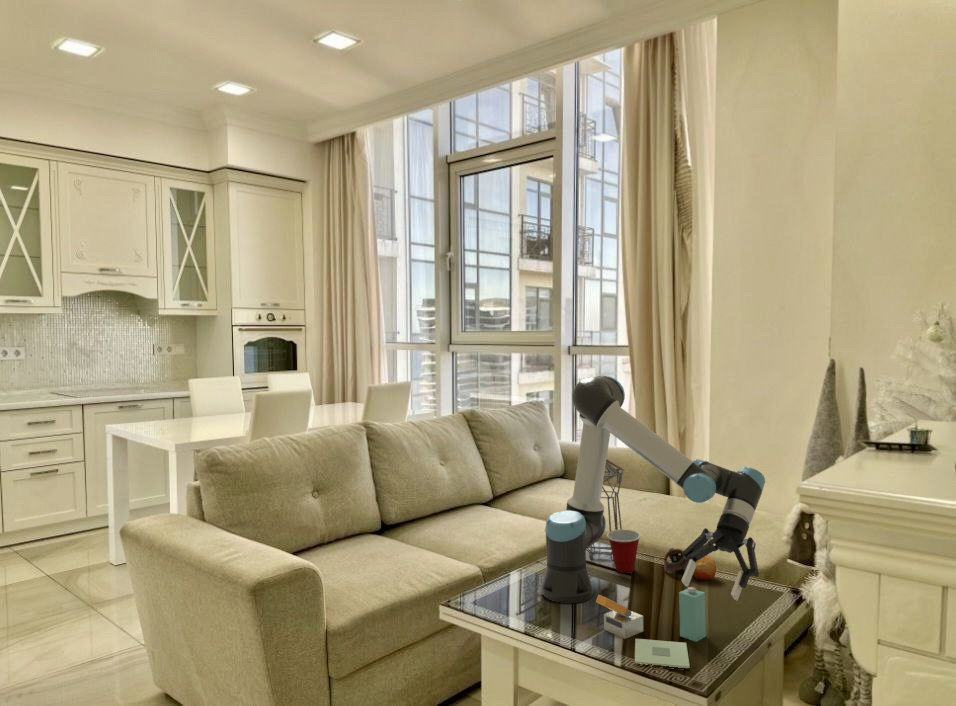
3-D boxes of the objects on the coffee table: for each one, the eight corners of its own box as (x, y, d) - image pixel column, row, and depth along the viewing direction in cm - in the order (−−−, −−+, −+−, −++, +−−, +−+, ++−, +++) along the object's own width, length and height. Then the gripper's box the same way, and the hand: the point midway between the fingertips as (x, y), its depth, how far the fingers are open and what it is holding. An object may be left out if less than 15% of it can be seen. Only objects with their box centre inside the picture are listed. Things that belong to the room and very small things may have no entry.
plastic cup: (601, 571, 211) (600, 534, 211) (617, 562, 219) (616, 527, 219) (631, 578, 204) (631, 540, 204) (647, 569, 212) (646, 532, 212)
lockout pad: (634, 664, 149) (634, 660, 149) (635, 641, 160) (635, 638, 160) (689, 670, 146) (689, 666, 146) (686, 646, 157) (686, 642, 157)
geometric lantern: (576, 561, 222) (572, 459, 223) (584, 549, 236) (581, 453, 237) (622, 565, 216) (619, 460, 217) (628, 552, 231) (625, 453, 232)
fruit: (715, 568, 207) (715, 551, 203) (716, 589, 201) (716, 571, 197) (689, 566, 210) (688, 549, 206) (689, 586, 203) (688, 569, 199)
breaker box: (622, 622, 172) (622, 607, 172) (643, 631, 166) (643, 615, 166) (603, 629, 167) (603, 614, 167) (624, 639, 162) (623, 623, 162)
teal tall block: (680, 636, 163) (678, 588, 163) (689, 630, 166) (688, 583, 166) (696, 641, 159) (695, 593, 159) (705, 636, 162) (704, 588, 162)
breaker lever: (620, 605, 169) (596, 593, 164) (632, 610, 166) (608, 598, 161) (617, 613, 168) (594, 601, 163) (629, 618, 165) (605, 606, 160)
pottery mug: (702, 576, 206) (694, 556, 204) (676, 590, 206) (667, 571, 203) (685, 555, 218) (676, 536, 215) (660, 568, 217) (651, 550, 215)
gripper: (786, 536, 167) (762, 611, 158) (698, 519, 186) (671, 585, 176) (777, 520, 164) (751, 595, 154) (688, 504, 183) (659, 571, 173)
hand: (708, 590), depth 165 cm, fingers open, 13 cm apart
